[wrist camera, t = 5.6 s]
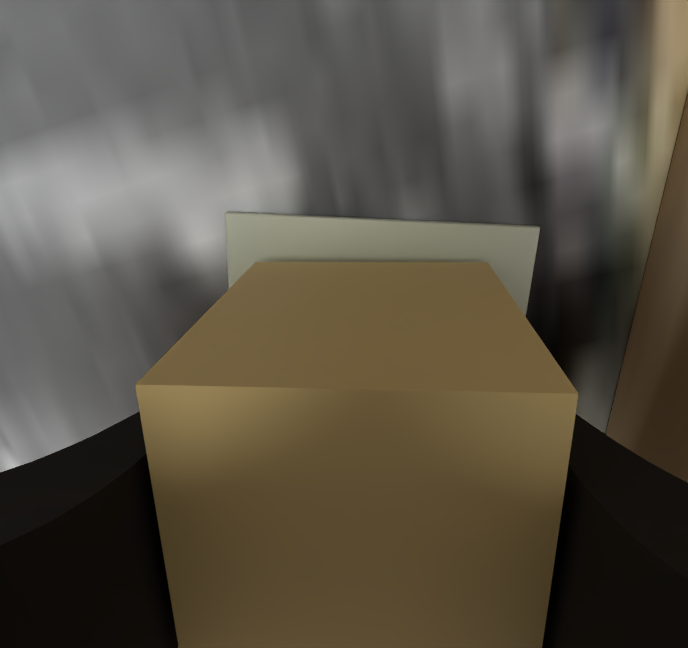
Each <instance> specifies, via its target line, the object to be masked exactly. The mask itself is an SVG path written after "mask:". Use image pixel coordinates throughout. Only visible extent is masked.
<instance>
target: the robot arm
mask: <svg viewBox="0 0 688 648" xmlns="http://www.w3.org/2000/svg"><path fill="white" fill-rule="evenodd" d="M0 648H178V640H177V634H176V628H175V622H174V616H173V610H172V604H171V598H170V592H169V586H168V580H167V574H166V568H165V562H164V556H163V550H162V544H161V538H160V532H159V526H158V520H157V514H156V507H155V501H154V495H153V489H152V483H151V477H150V471H149V465H148V459H147V453H146V447H145V441H144V435H143V429H142V423H141V417H140V412H138V413H136V414H134V415H132V416H130V417H128V418H126V419H124V420H122V421H121V422H119V423H117V424H115V425H113V426H111V427H109V428H107V429H105V430H103V431H101V432H100V433H98V434H95V435H93V436H91V437H89V438H87V439H85V440H83V441H80V442H78V443H76V444H74V445H72V446H69V447H67V448H64V449H62V450H60V451H57V452H55V453H52V454H50V455H48V456H45V457H43V458H40V459H38V460H35V461H33V462H30V463H27V464H24V465H21V466H18V467H15V468H12V469H10V470H7V471H4V472H1V473H0ZM542 648H688V483H687V482H686V481H684V480H682V479H680V478H678V477H676V476H674V475H672V474H670V473H668V472H666V471H665V470H663V469H661V468H659V467H657V466H656V465H654V464H652V463H650V462H649V461H647V460H645V459H643V458H642V457H640V456H639V455H637V454H635V453H634V452H632V451H631V450H629V449H627V448H626V447H624V446H623V445H621V444H619V443H618V442H616V441H615V440H613V439H612V438H610V437H609V436H607V435H606V434H604V433H603V432H601V431H600V430H598V429H597V428H595V427H594V426H592V425H591V424H589V423H588V422H587V421H585V420H584V419H582V418H581V417H580V416H578V415H577V414H576V415H575V422H574V429H573V436H572V443H571V450H570V457H569V464H568V471H567V478H566V485H565V492H564V499H563V506H562V513H561V520H560V527H559V534H558V541H557V547H556V554H555V561H554V568H553V575H552V582H551V589H550V596H549V603H548V610H547V617H546V624H545V631H544V638H543V645H542Z"/></svg>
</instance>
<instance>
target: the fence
mask: <svg viewBox="0 0 688 648" xmlns="http://www.w3.org/2000/svg"><path fill="white" fill-rule="evenodd" d="M606 435H607V436H609V437H610V438H612V439H613V440H615V441H616V442H618V443H619V444H621V445H623V446H624V447H626V448H627V449H629V450H631V451H632V452H634V453H635V454H637V455H639V456H640V457H642V458H643V459H645V460H647V461H649V462H650V463H652V464H654V465H656V466H657V467H659V468H661V469H663V470H665V471H666V472H668V473H670V474H672V475H674V476H676V477H678V478H680V479H682V480H684V481H686V482H687V483H688V95H687V99H686V103H685V108H684V112H683V116H682V120H681V124H680V128H679V133H678V137H677V141H676V145H675V149H674V153H673V157H672V162H671V166H670V170H669V174H668V178H667V182H666V186H665V191H664V195H663V199H662V203H661V207H660V211H659V215H658V220H657V224H656V228H655V232H654V236H653V240H652V244H651V249H650V253H649V257H648V261H647V265H646V269H645V273H644V278H643V282H642V286H641V290H640V294H639V298H638V302H637V307H636V311H635V315H634V319H633V323H632V327H631V331H630V336H629V340H628V344H627V348H626V352H625V356H624V360H623V365H622V369H621V373H620V377H619V381H618V385H617V389H616V394H615V398H614V402H613V406H612V410H611V414H610V418H609V423H608V427H607V431H606Z"/></svg>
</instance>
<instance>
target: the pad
mask: <svg viewBox="0 0 688 648" xmlns="http://www.w3.org/2000/svg"><path fill="white" fill-rule="evenodd" d="M225 223H226V243H227V263H228V283H229V288H230V287H231V286H232V285H233V284H234V283H235V282H236V281H237V280H238V279H239V278H240V277H241V276H242V275H243V274H244V273H245V272H246V271H247V270H248V269H249V268H250V267H251V266H252V265H253V264H254V263H255V262H488V263H489V265H490V266H491V268H492V269H493V271H494V272H495V274H496V275H497V276H498V278H499V279H500V281H501V282H502V284H503V285H504V287H505V288H506V289H507V291H508V292H509V294H510V295H511V297H512V298H513V300H514V301H515V302H516V304H517V305H518V307H519V308H520V310H521V311H522V313H523V314H524V315H525V317H526V312H527V305H528V299H529V293H530V287H531V281H532V275H533V269H534V262H535V256H536V250H537V244H538V238H539V232H540V227H539V226H529V225H508V224H486V223H464V222H442V221H420V220H399V219H377V218H355V217H333V216H311V215H289V214H268V213H246V212H226V213H225Z"/></svg>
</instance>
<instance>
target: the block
mask: <svg viewBox="0 0 688 648" xmlns="http://www.w3.org/2000/svg"><path fill="white" fill-rule="evenodd" d="M135 387H136V393H137V399H138V405H139V411H140V417H141V423H142V429H143V435H144V441H145V447H146V453H147V459H148V465H149V471H150V477H151V483H152V489H153V495H154V501H155V507H156V514H157V520H158V526H159V532H160V538H161V544H162V550H163V556H164V562H165V568H166V574H167V580H168V586H169V592H170V598H171V604H172V610H173V616H174V622H175V628H176V634H177V640H178V646H179V648H542V645H543V638H544V631H545V624H546V617H547V610H548V603H549V596H550V589H551V582H552V575H553V568H554V561H555V554H556V547H557V541H558V534H559V527H560V520H561V513H562V506H563V499H564V492H565V485H566V478H567V471H568V464H569V457H570V450H571V443H572V436H573V429H574V422H575V415H576V408H577V401H578V392H577V391H576V389H575V388H574V386H573V385H572V384H571V382H570V381H569V379H568V378H567V376H566V375H565V373H564V372H563V370H562V369H561V368H560V366H559V365H558V363H557V362H556V360H555V359H554V357H553V356H552V355H551V353H550V352H549V350H548V349H547V347H546V346H545V344H544V343H543V342H542V340H541V339H540V337H539V336H538V334H537V333H536V331H535V330H534V329H533V327H532V326H531V324H530V323H529V321H528V320H527V318H526V317H525V315H524V314H523V313H522V311H521V310H520V308H519V307H518V305H517V304H516V302H515V301H514V300H513V298H512V297H511V295H510V294H509V292H508V291H507V289H506V288H505V287H504V285H503V284H502V282H501V281H500V279H499V278H498V276H497V275H496V274H495V272H494V271H493V269H492V268H491V266H490V265H489V263H488V262H255V263H254V264H253V265H252V266H251V267H250V268H249V269H248V270H247V271H246V272H245V273H244V274H243V275H242V276H241V277H240V278H239V279H238V280H237V281H236V282H235V283H234V284H233V285H232V286H231V287H230V288H229V289H228V291H227V292H226V293H225V294H224V295H223V296H222V297H221V298H220V299H219V300H218V301H217V302H216V303H215V304H214V305H213V306H212V307H211V308H210V309H209V310H208V311H207V312H206V313H205V314H204V315H203V316H202V317H201V318H200V319H199V320H198V321H197V322H196V323H195V324H194V325H193V326H192V327H191V328H190V329H189V330H188V331H187V332H186V333H185V334H184V335H183V336H182V337H181V338H180V339H179V340H178V341H177V342H176V343H175V345H174V346H173V347H172V348H171V349H170V350H169V351H168V352H167V353H166V354H165V355H164V356H163V357H162V358H161V359H160V360H159V361H158V362H157V363H156V364H155V365H154V366H153V367H152V368H151V369H150V370H149V371H148V372H147V373H146V374H145V375H144V376H143V377H142V378H141V379H140V380H139V381H138V382H137V383H136V384H135Z"/></svg>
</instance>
